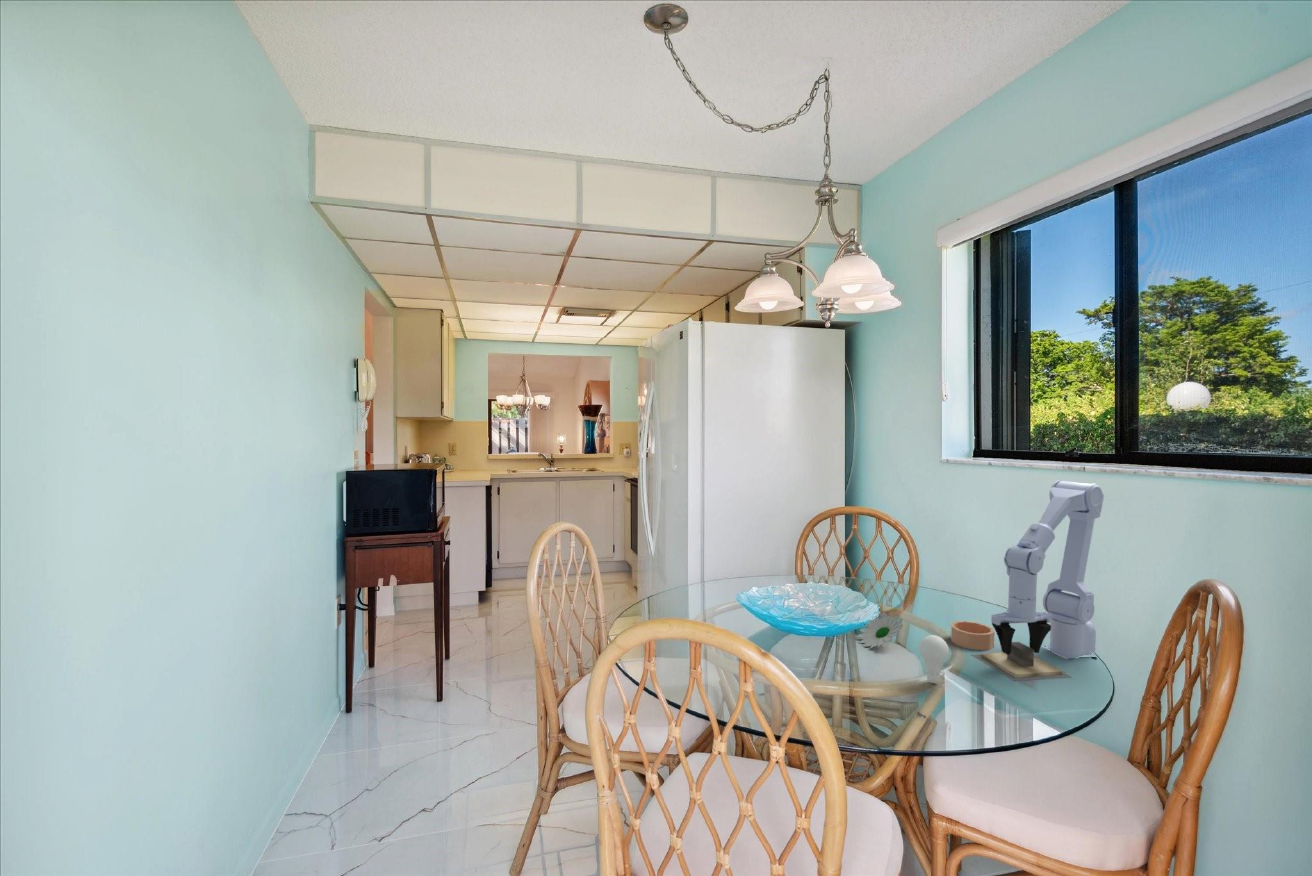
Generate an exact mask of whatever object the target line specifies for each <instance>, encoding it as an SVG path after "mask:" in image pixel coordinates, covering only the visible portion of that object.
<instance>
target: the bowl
mask: <svg viewBox="0 0 1312 876" xmlns="http://www.w3.org/2000/svg"><path fill="white" fill-rule="evenodd" d="M950 641H951V643H953V644H955V645H956V646H957V647H962V648H964V649H968V650H974V651H975V650H976V651H989V650H991V649H993V648H995V629H994V627H991V626H988V625H987V624H983V623H979V622H975V621H969V620H968V621H967V620H960V621H959V620H958V621H957V620H956V621H953V622H952V623H950Z"/></svg>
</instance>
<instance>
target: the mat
mask: <svg viewBox="0 0 1312 876" xmlns="http://www.w3.org/2000/svg"><path fill="white" fill-rule="evenodd" d="M981 654H982V653H980V654H978V653H977V654H971V656H972V657H974V658H976V659H977V660H979V661H980V662H982V663H984V664H985V665H987V666H989V667H990V668H992V669H994V670H995V671H997V672H998V673H1000V674H1002V675H1004V676H1005V677H1006V678H1008V679H1010V680H1011V681H1013V682H1025V681H1037V680H1038V681H1039V680H1051V679H1054V680H1055V679H1068V678H1073V676H1072V675H1070V674H1068V673H1066V672H1064V671H1062V675H1050V676H1035V677H1020V678H1015V677H1013V676H1012V675H1010V674H1008V673H1007V672H1005V671H1003V670H1002V669H1000V668H998V667H997V666H995V665H993V664H992V663H990V662H988V661H987V660H985V659H983V658H982V657H981Z"/></svg>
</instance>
